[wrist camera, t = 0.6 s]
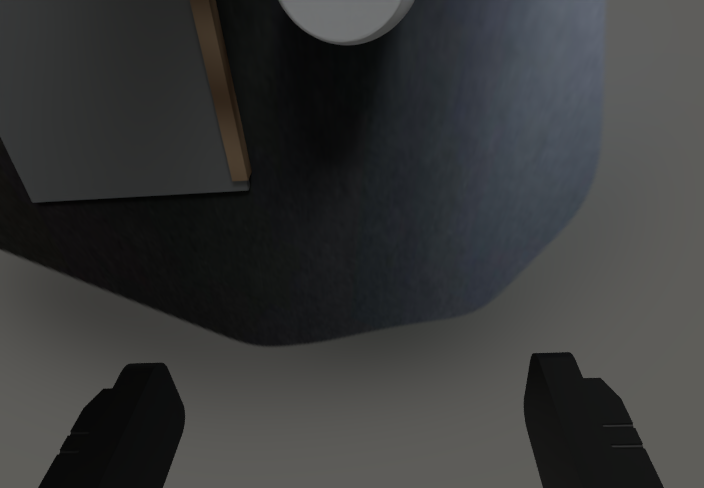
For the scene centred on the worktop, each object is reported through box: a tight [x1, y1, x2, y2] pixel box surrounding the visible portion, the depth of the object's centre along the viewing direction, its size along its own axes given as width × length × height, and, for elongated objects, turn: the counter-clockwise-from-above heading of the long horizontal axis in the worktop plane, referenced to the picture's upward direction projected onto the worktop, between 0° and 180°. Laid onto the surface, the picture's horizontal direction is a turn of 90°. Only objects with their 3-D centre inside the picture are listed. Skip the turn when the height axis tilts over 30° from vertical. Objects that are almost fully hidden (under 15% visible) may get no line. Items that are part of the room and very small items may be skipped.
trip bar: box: [190, 0, 252, 181], centre depth 29 cm, size 12×1×1 cm, turn 5°
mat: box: [0, 0, 250, 203], centre depth 30 cm, size 14×15×1 cm
